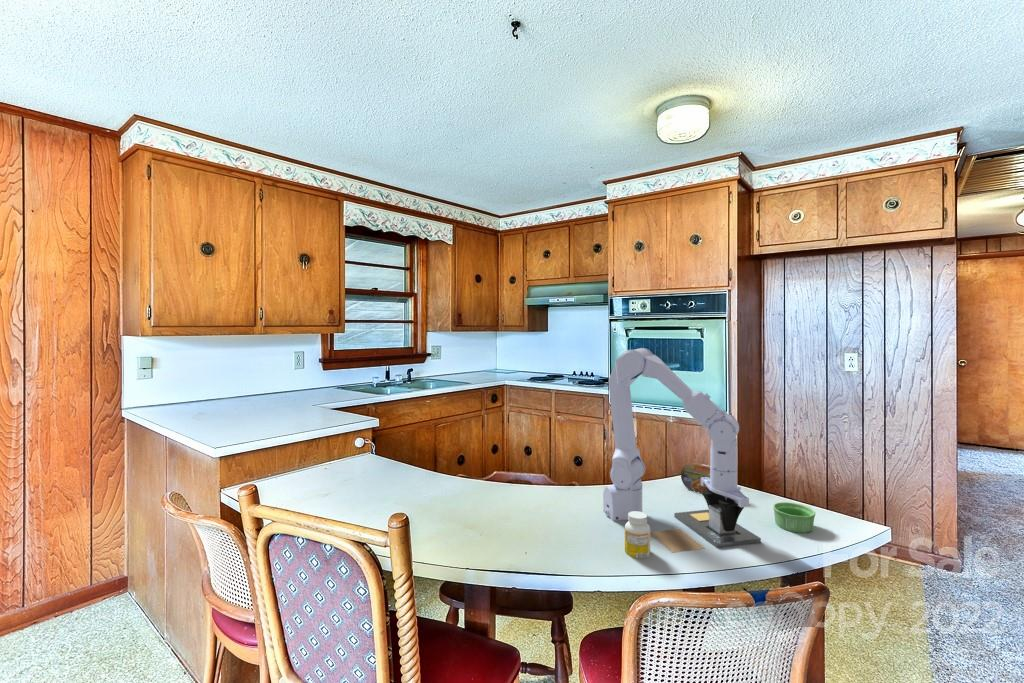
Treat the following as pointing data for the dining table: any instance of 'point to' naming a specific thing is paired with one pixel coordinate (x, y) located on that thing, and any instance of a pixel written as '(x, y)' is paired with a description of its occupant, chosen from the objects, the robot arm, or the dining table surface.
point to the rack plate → (700, 525)
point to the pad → (676, 540)
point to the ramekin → (794, 517)
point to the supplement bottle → (637, 535)
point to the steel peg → (717, 521)
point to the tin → (695, 476)
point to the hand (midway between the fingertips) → (723, 526)
